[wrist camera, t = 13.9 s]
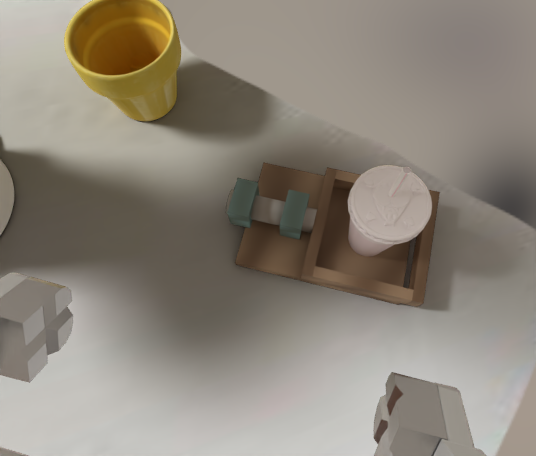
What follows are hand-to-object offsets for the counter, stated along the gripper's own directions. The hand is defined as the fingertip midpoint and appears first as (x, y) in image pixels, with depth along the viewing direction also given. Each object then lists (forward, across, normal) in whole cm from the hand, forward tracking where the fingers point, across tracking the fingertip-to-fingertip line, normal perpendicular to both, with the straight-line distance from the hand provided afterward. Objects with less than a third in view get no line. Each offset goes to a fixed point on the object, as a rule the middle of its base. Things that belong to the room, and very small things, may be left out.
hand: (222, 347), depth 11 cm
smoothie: (+32, -7, +12) cm, 34 cm away
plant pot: (+40, +20, +4) cm, 45 cm away
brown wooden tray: (+32, -3, +12) cm, 35 cm away
